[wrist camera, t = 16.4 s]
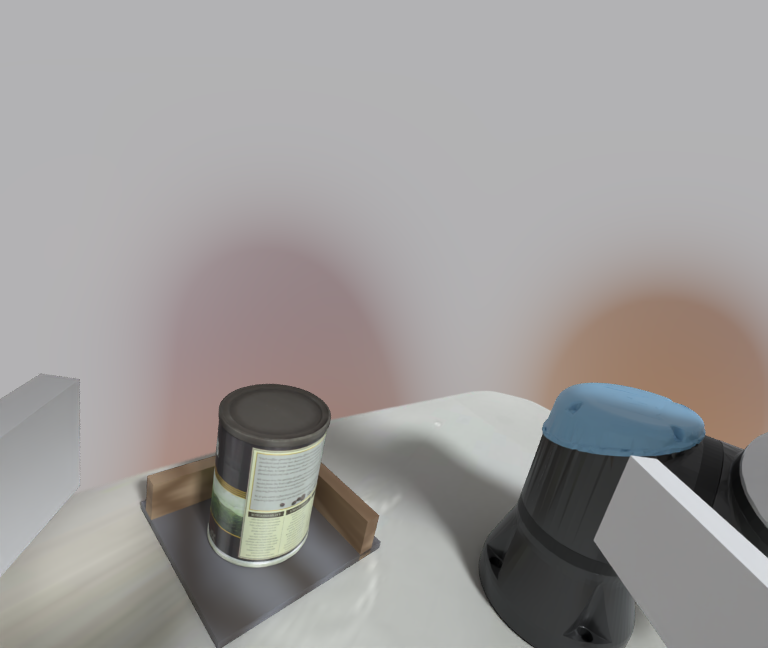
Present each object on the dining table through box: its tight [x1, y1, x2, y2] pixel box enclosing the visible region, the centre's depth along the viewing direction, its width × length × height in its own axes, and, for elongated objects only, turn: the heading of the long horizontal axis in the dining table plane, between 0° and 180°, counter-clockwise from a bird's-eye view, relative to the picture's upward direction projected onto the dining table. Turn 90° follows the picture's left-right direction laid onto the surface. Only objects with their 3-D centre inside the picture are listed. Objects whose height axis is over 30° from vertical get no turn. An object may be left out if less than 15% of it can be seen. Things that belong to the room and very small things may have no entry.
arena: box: [141, 456, 380, 648], centre depth 45 cm, size 18×18×5 cm
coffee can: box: [207, 384, 331, 568], centre depth 43 cm, size 10×10×14 cm
